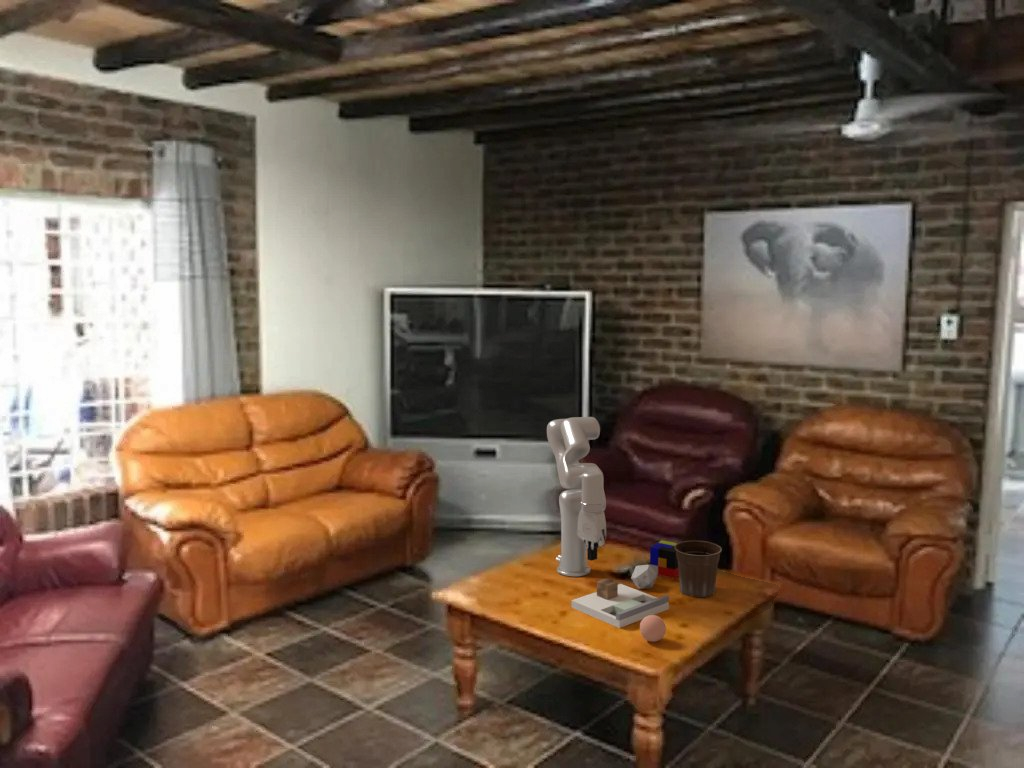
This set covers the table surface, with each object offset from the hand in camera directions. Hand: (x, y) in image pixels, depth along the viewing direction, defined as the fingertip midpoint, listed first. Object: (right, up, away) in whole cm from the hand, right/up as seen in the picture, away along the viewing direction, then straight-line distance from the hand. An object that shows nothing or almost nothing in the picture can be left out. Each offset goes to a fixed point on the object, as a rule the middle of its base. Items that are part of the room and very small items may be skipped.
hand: (592, 559), depth 295 cm
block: (+5, -12, -4) cm, 13 cm away
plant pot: (+38, -13, +7) cm, 40 cm away
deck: (+9, -15, -8) cm, 19 cm away
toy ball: (+15, -18, -33) cm, 41 cm away
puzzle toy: (+31, -11, +27) cm, 43 cm away
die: (+20, -13, +11) cm, 26 cm away
